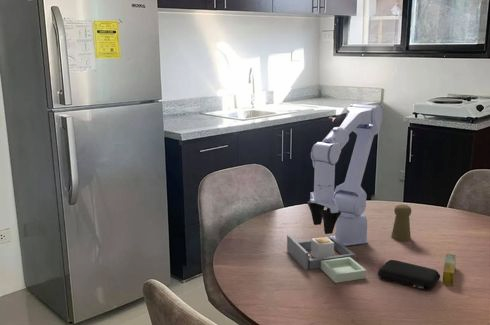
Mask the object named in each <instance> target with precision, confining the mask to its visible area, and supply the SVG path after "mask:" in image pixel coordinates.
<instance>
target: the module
mask: <svg viewBox="0 0 490 325" xmlns="http://www.w3.org/2000/svg"><path fill="white" fill-rule="evenodd" d="M329 238H330V237H328V236H324V237H316V238H315V237H314V238H311V239H310V240H311V249H310V256H312V257H313V259H316V258H323V257H330V256H335V255H334V254H335V249H334V242H332V241H331V240H330V239H329Z"/></svg>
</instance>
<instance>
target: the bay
mask: <svg viewBox="0 0 490 325" xmlns="http://www.w3.org/2000/svg"><path fill="white" fill-rule="evenodd" d="M320 270H322V272H324V273H325V275H327V276H328V277H329V278H330V279H331V280H332V281H333V282H334V283H336V284H339V283H343V282H350V281H356V280H362V279H366V278H367V269H365V268H364V266H362V265H361V264H359V263H358V262H357V261H356V260H355V261H354V260H353V259H352V258H351V257H345V258H338V259H331V260H324V261H321V268H320Z"/></svg>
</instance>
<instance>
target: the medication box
mask: <svg viewBox="0 0 490 325" xmlns="http://www.w3.org/2000/svg"><path fill="white" fill-rule="evenodd" d="M456 259H457V258H456V255H455V254H451V253H450V254H449V253H446V254H445V257H444V263H443V264H444V265H443V272H442V284H443V285H445V286H452V287H454V283H455V274H456V273H455V272H456Z"/></svg>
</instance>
